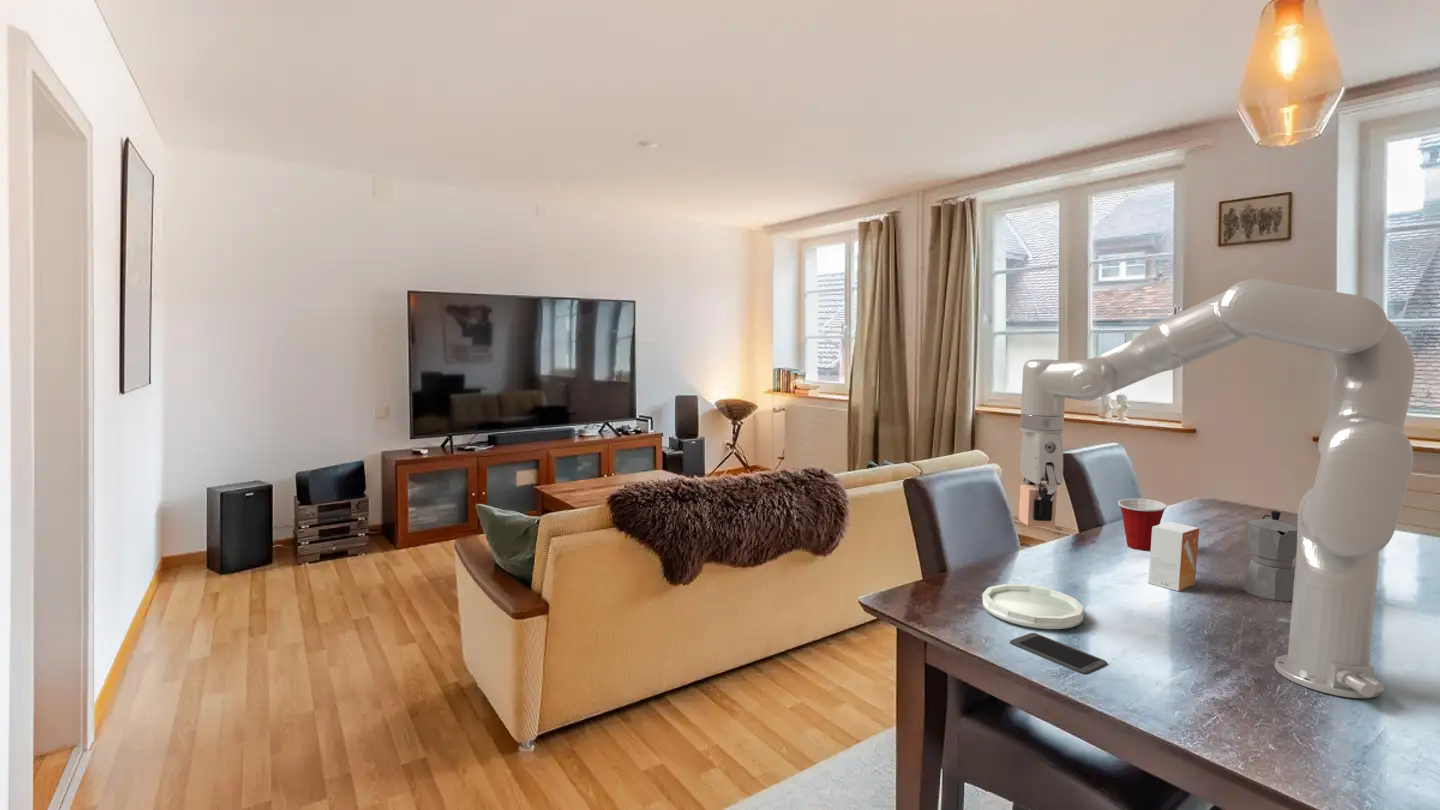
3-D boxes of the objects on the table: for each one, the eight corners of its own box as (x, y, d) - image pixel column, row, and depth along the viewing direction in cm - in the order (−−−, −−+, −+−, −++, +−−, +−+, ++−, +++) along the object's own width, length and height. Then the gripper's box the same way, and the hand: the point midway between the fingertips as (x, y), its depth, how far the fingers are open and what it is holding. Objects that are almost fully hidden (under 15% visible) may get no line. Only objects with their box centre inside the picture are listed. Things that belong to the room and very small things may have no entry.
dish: (1100, 634, 124) (1100, 620, 124) (998, 630, 126) (999, 616, 126) (1060, 597, 142) (1060, 585, 142) (971, 594, 144) (972, 582, 144)
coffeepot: (1306, 608, 137) (1313, 521, 135) (1247, 599, 142) (1254, 515, 140) (1287, 584, 151) (1293, 505, 149) (1234, 577, 155) (1240, 500, 153)
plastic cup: (1106, 544, 180) (1108, 499, 179) (1132, 539, 185) (1135, 496, 184) (1146, 556, 171) (1149, 509, 170) (1173, 550, 175) (1176, 504, 174)
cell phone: (1032, 635, 125) (1032, 631, 125) (1109, 666, 113) (1109, 661, 113) (1007, 644, 121) (1007, 640, 121) (1084, 677, 109) (1084, 672, 109)
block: (1054, 526, 130) (1056, 490, 129) (1027, 525, 130) (1029, 489, 130) (1044, 519, 135) (1046, 485, 134) (1018, 519, 135) (1020, 484, 134)
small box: (1179, 592, 146) (1183, 532, 145) (1147, 583, 151) (1151, 526, 150) (1196, 585, 150) (1200, 527, 149) (1164, 576, 156) (1168, 520, 154)
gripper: (1081, 429, 122) (1075, 529, 124) (1045, 419, 139) (1040, 506, 140) (1037, 429, 123) (1032, 527, 124) (1007, 418, 139) (1002, 505, 141)
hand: (1036, 515), depth 132 cm, fingers closed on block, 5 cm apart
